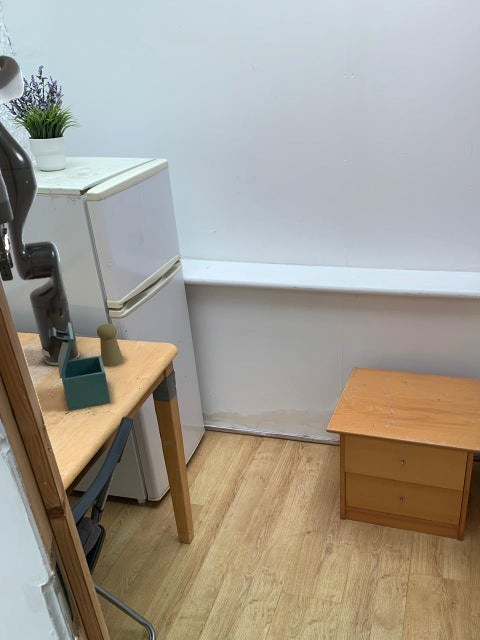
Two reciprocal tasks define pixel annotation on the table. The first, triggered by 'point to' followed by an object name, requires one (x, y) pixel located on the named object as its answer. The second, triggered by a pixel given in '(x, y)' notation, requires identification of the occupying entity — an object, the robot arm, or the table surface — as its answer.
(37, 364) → the table surface
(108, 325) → the olive pepper mill
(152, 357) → the table surface
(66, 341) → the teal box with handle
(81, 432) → the table surface
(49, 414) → the table surface
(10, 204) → the robot arm
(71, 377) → the teal square box
